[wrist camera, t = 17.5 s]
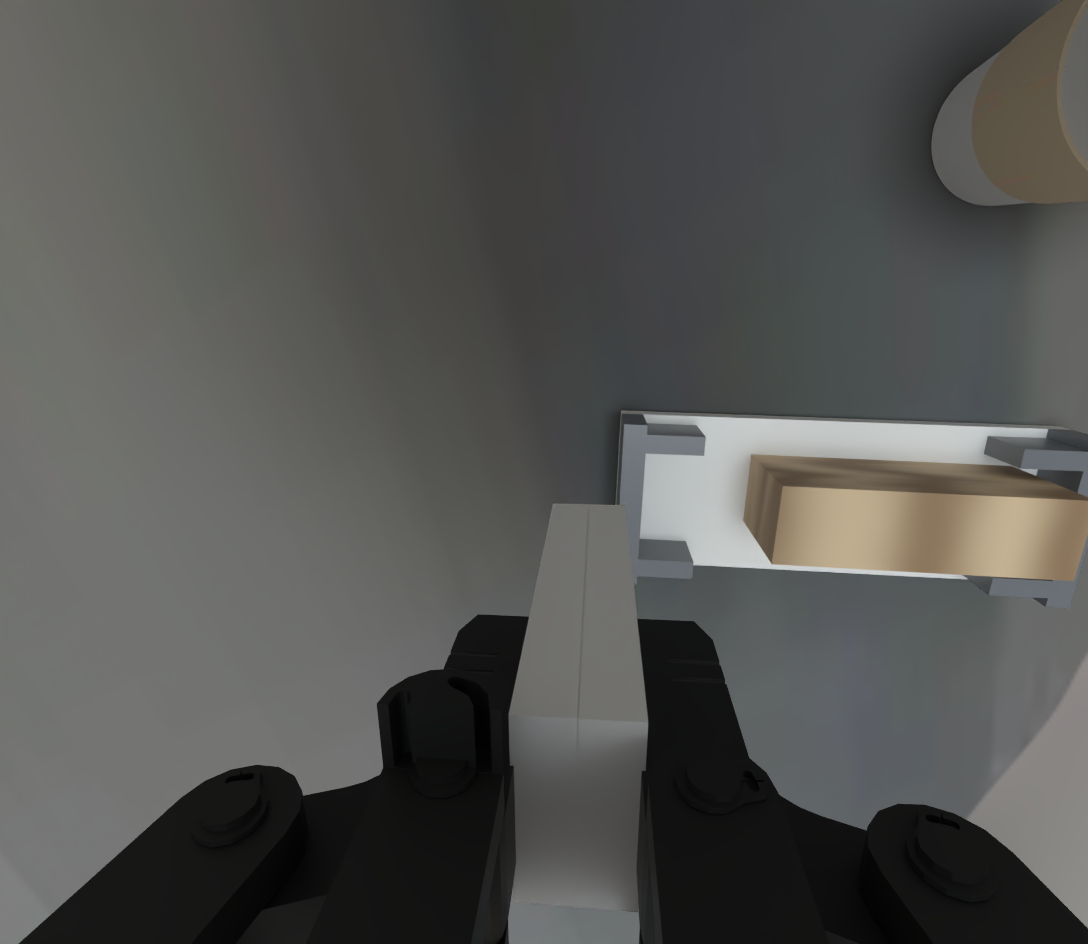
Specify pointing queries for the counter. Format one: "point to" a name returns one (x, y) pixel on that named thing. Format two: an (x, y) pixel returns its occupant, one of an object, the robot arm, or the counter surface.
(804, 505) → the tan rectangular block
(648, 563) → the holder
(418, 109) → the counter surface
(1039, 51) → the coffee cup
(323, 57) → the counter surface
